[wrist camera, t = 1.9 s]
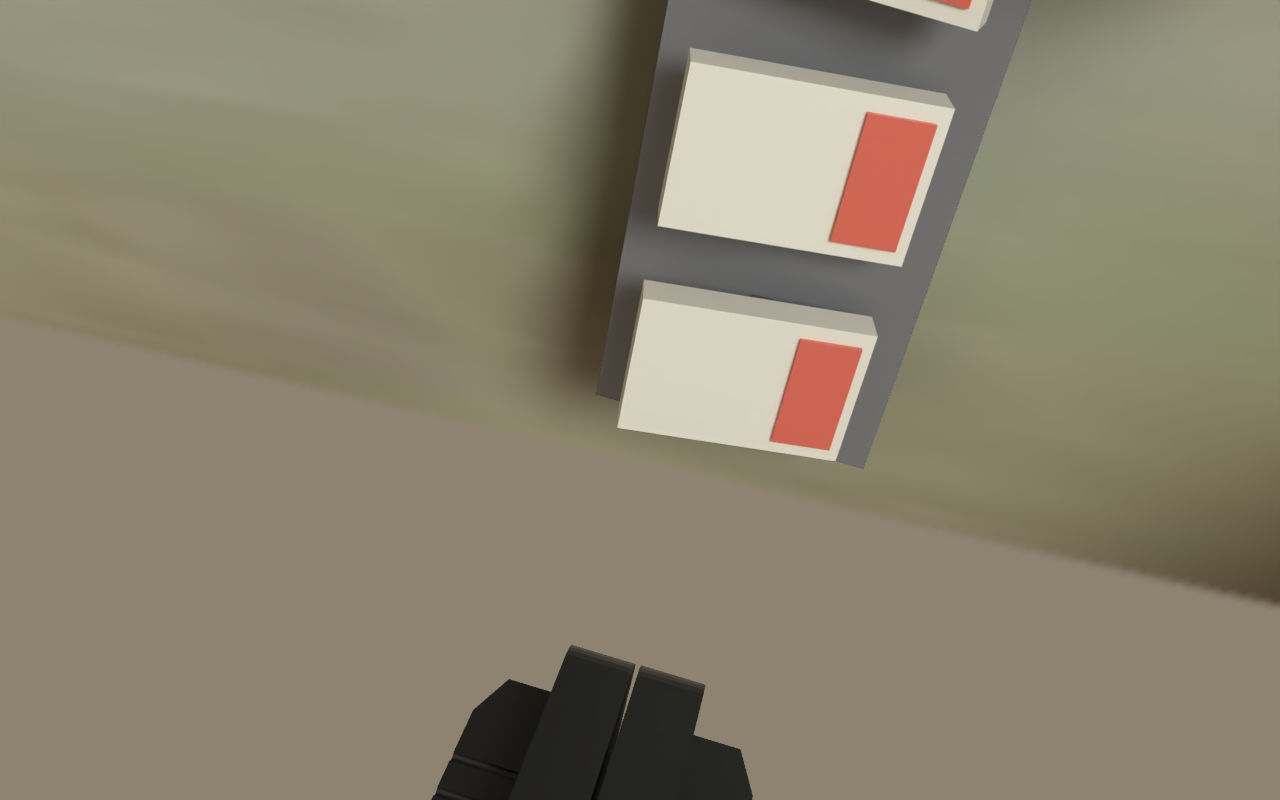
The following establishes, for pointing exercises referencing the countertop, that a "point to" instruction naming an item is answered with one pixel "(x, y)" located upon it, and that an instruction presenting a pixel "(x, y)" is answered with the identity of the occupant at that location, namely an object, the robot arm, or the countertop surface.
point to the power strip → (893, 296)
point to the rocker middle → (801, 157)
